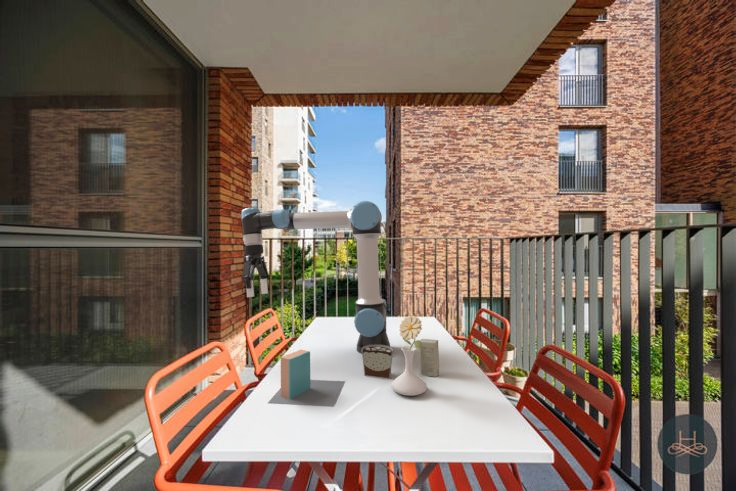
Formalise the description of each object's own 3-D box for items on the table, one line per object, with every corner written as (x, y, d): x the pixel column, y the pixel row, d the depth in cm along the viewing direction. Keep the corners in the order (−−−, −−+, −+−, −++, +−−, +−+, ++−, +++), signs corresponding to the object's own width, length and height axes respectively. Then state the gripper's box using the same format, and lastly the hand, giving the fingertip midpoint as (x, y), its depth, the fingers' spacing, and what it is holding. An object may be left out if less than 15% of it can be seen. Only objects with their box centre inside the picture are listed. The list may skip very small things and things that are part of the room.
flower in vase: (385, 387, 111) (384, 311, 111) (415, 381, 115) (414, 309, 115) (404, 404, 99) (404, 319, 99) (437, 397, 103) (436, 316, 103)
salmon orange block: (280, 396, 103) (280, 357, 103) (301, 385, 111) (300, 349, 111) (290, 399, 101) (290, 359, 101) (310, 388, 109) (310, 351, 109)
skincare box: (439, 373, 123) (439, 339, 123) (436, 377, 119) (436, 343, 119) (422, 370, 125) (422, 337, 125) (419, 374, 121) (418, 341, 121)
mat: (345, 383, 114) (345, 381, 114) (333, 408, 96) (333, 406, 96) (288, 380, 117) (288, 378, 117) (267, 405, 99) (267, 403, 99)
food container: (398, 373, 123) (397, 345, 123) (393, 379, 117) (393, 351, 117) (366, 369, 127) (366, 342, 127) (360, 375, 121) (360, 347, 121)
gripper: (257, 247, 155) (262, 293, 153) (229, 244, 130) (234, 299, 128) (273, 245, 154) (277, 291, 152) (248, 242, 129) (253, 297, 128)
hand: (258, 295), depth 140 cm, fingers open, 13 cm apart
